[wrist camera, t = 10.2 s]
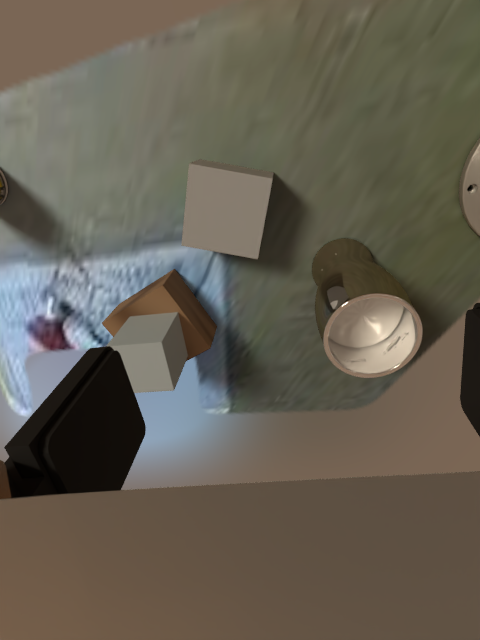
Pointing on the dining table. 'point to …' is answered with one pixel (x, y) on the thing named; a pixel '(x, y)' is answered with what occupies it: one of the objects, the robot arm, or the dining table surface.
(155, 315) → the painted block
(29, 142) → the dining table surface
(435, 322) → the dining table surface
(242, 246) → the grey block
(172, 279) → the walnut block
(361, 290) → the beer glass
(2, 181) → the supplement bottle
